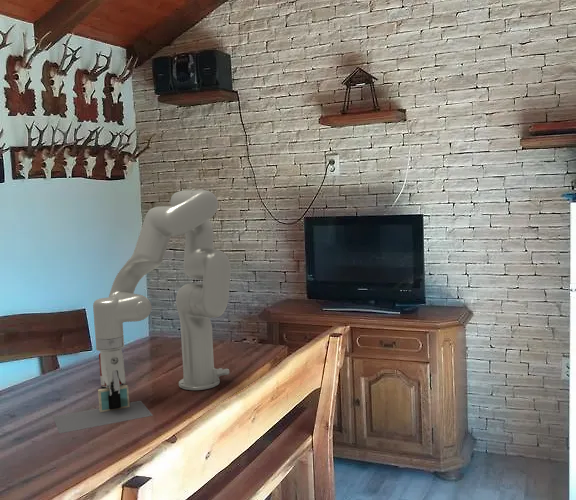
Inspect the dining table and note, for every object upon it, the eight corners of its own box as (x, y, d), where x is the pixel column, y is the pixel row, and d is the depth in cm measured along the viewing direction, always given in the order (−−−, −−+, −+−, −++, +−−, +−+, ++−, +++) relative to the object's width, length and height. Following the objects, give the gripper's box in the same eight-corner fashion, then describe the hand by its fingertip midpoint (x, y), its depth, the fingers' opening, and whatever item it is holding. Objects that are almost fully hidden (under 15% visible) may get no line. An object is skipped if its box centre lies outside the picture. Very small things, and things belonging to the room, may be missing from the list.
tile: (128, 405, 185) (127, 384, 184) (129, 407, 184) (128, 386, 183) (99, 410, 182) (97, 389, 181) (100, 412, 180) (98, 391, 180)
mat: (140, 402, 189) (140, 400, 189) (153, 417, 176) (153, 415, 176) (52, 418, 178) (52, 416, 178) (59, 435, 166) (59, 433, 166)
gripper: (129, 346, 175) (134, 413, 177) (117, 335, 189) (122, 397, 191) (101, 350, 172) (105, 418, 174) (91, 339, 186) (95, 402, 188)
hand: (114, 407), depth 183 cm, fingers closed on tile, 1 cm apart
